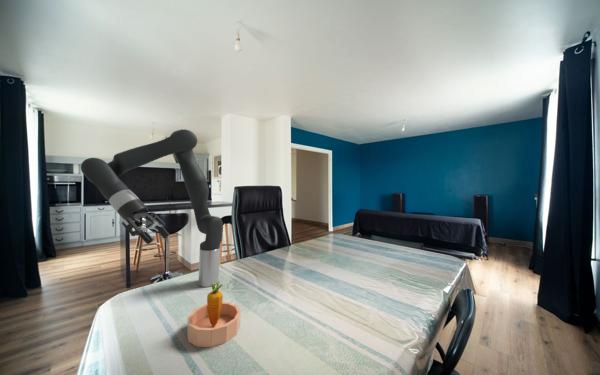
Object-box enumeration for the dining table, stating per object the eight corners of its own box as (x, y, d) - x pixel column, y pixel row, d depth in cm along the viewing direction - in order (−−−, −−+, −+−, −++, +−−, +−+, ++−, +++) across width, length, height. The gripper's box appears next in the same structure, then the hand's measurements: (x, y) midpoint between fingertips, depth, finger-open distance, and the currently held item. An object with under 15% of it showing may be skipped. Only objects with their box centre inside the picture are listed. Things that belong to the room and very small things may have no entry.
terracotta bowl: (201, 315, 80) (202, 301, 80) (244, 316, 80) (245, 303, 80) (176, 345, 64) (177, 328, 64) (230, 347, 64) (231, 330, 64)
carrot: (216, 320, 76) (218, 277, 76) (224, 326, 72) (226, 281, 73) (202, 326, 72) (204, 281, 72) (210, 333, 69) (212, 285, 69)
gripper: (119, 198, 69) (153, 236, 69) (150, 197, 83) (178, 228, 83) (102, 215, 69) (136, 252, 69) (136, 210, 83) (164, 241, 83)
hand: (159, 239), depth 76 cm, fingers open, 8 cm apart
